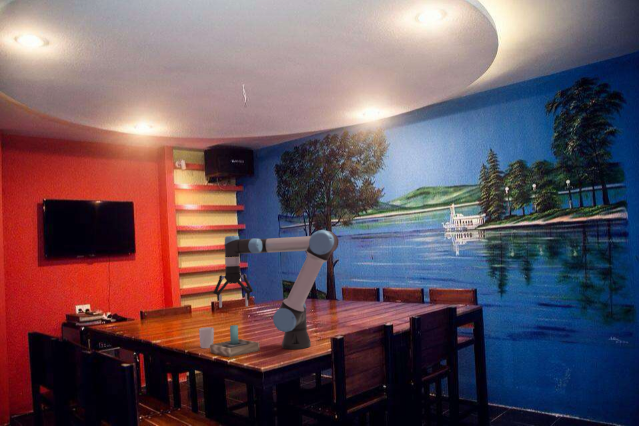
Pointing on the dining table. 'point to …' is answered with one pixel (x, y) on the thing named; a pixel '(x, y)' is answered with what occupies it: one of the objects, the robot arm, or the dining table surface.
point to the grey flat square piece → (234, 348)
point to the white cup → (206, 337)
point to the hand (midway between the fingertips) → (233, 306)
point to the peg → (234, 334)
